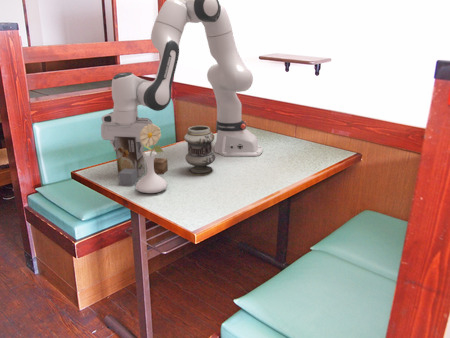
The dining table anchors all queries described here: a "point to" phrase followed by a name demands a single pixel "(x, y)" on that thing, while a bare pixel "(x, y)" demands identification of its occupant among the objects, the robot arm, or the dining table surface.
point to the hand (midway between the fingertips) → (128, 151)
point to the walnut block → (160, 165)
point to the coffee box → (129, 154)
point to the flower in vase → (151, 161)
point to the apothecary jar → (199, 149)
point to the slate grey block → (128, 177)
